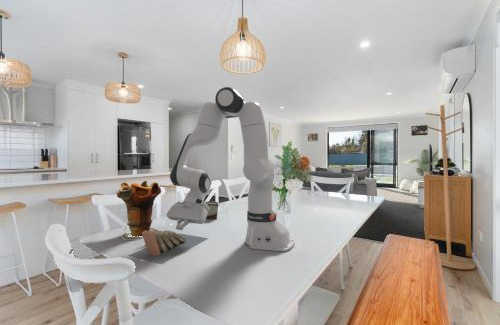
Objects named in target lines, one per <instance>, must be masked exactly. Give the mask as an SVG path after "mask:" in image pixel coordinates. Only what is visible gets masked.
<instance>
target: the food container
mask: <svg viewBox="0 0 500 325" xmlns="http://www.w3.org/2000/svg"><path fill="white" fill-rule="evenodd" d="M205 203H206V204H207V205H208V206H209V208H210V209H209V211H207V212H208V214H207V217H206V219H205V220H218V213H219V211H218V210H219V207H220V205H219V202H218V201H205Z"/></svg>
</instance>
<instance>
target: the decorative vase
mask: <svg viewBox="0 0 500 325" xmlns="http://www.w3.org/2000/svg"><path fill="white" fill-rule="evenodd" d="M161 193H162V189H161V187H160V186H159V184H158V182H156V181H154V182H151V184H150V185H148V181H147V180H144V181H142V182H141V184H140V183H136V182H131V183H130V185H129V184H128V183H127V182H126V181H122V182H121V183H120V189H118V191H117V193H116V196H117V198H118V199H121V200H122V201H123V202H124V204H125V206H126V214H127V216H126V218H127V224H126V225H127V226H128V227H129V230H128V231H129V232H128V231H126V232H125V230H126V228H127V226H125V227H124V230H123V231H124V232H125V233H124V232H123V234H121V236H120V238H121V237H122V238H121V239H122V240H126V241H137V240H138V241H139V240H142V239H144V238H143V235H142V232H143V231H145V230H146V231H149V230H150V231H159V230H158V229H156V228H153V227H151V226H152V223H153V219H152V215H153V210H154V209H153V208H154V205H155V203H154V202H155V199H156V198H157V197H158V196H159V195H160V194H161ZM129 234H130V235H132V237H128V235H129ZM133 236H135V237H133ZM137 236H138V237H137ZM139 236H142V237H139Z"/></svg>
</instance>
